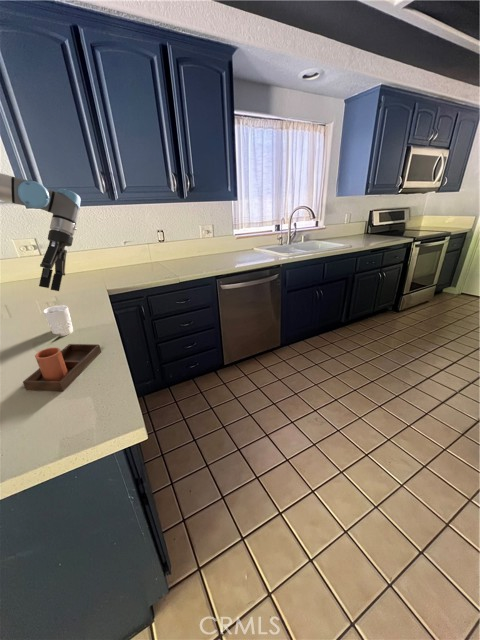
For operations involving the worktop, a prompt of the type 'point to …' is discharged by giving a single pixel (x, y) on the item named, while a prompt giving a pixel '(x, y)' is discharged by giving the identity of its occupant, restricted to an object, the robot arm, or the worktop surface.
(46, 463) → the worktop surface
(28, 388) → the tray
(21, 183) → the robot arm
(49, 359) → the terracotta cup
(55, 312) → the white cup
